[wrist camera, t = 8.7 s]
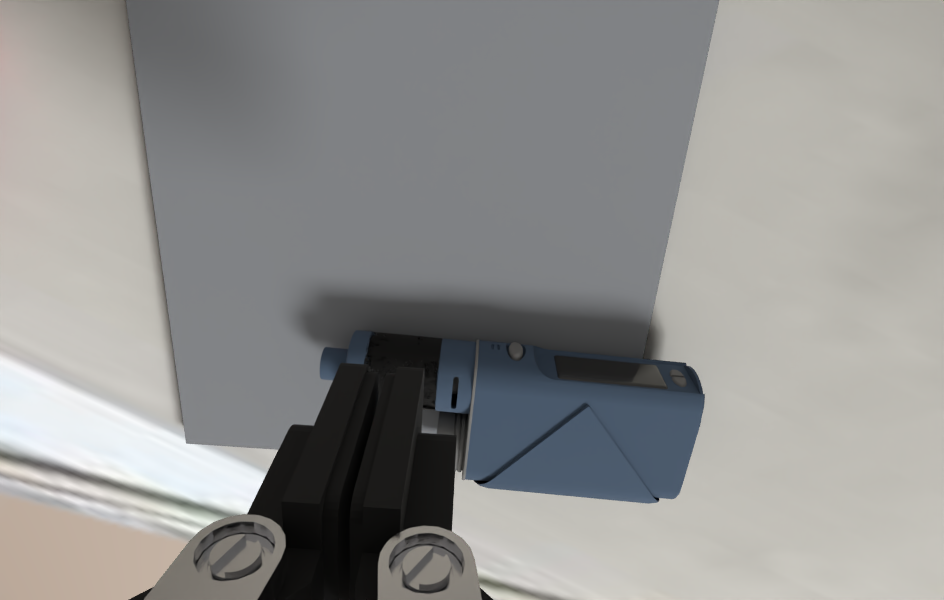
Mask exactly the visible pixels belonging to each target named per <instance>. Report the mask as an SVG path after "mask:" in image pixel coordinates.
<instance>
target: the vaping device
mask: <svg viewBox="0 0 944 600" xmlns="http://www.w3.org/2000/svg"><path fill="white" fill-rule="evenodd" d="M375 333H376V334H377V335H376V334H375ZM341 363H352V364H367V365H369V369H370V372H378V373H379V397H380V394H381V390H382V386H383V383H384V379H385V376H386V373H394V374H396V370H397V367H409V368H424V394H423V410H433V411H435V410H436V411H440V412H439V418H438V427H437V434H446V435H457V440H456V459H455V471H456V470H457V471H458V472H461V470H463V472H462V480H465V479H468V480H474V481H475V482H476V483H477V484H478V485H480V486H483V487H486V488H492V489H503V490H513V491H524V492H534V493H545V494H555V495H566V496H576V497H586V498H597V499H607V500H618V501H628V502H639V503H657V502H658V501H659V498H666V499H674V498H676V497H677V495H678V494H679V493H680V490H681V487H682V484H683V481H684V477H685V474H686V470H687V467H688V464H689V460H690V457H691V454H692V450H693V447H694V444H695V440H696V437H697V434H698V430H699V427H700V423H701V417H702V413H703V408H704V399H705V394H703V391H702V386H701V383H700V380H699V377H698V375H697V373H696V372H695V371H694V369H693V368H691V367H689V366H686V363H680V362H670V361H660V360H650V359H639V358H629V357H619V356H609V355H598V354H588V353H578V352H568V351H557V350H548V349H543V348H540V347H537V346H534V345H524V344H519V343H517V342H513V343H503V342H493V341H483V340H479V339H476V342H474V341H464V340H454V339H442V338H433V337H423V336H413V335H403V334H392V333H391V334H390V333H382V332H379V334H378V332H372V331H362V330H356V331H355V332H354V333H353V335H352V337H351V340H350V344H349V348H348V349H342V348H332V347H325V348H324V350H323V352H322V355H321V360H320V378H321V379H323V380H333V379H334V377H335V375H336V372H337V370H338V368H339V365H340V364H341ZM461 413H463V414H461Z"/></svg>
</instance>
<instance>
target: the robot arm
mask: <svg viewBox="0 0 944 600" xmlns="http://www.w3.org/2000/svg"><path fill="white" fill-rule="evenodd" d="M423 394H424V368H409V367H397V370H396V374H394V373H386V376H385V379H384V383H383V386H382V390H381V394H380V397H379V373H378V372H370V369H369V365H367V364H352V363H341V364H340V365H339V368H338V370H337V372H336V375H335V377H334V379H333V382H332V384H331V386H330V389H329V391H328V393H327V396H326V398H325V400H324V403H323V405H322V407H321V410H320V412H319V415H318V417H317V419H316V422H315V424H314V426H313V425H298V424H293V425H292V426H291V427H290V428H289V430H288V432H287V434H286V436H285V438H284V440H283V442H282V444H281V446H280V448H279V450H278V452H277V454H276V456H275V458H274V460H273V462H272V464H271V466H270V469H269V471H268V473H267V475H266V477H265V479H264V481H263V483H262V485H261V487H260V489H259V491H258V493H257V495H256V497H255V499H254V501H253V503H252V505H251V507H250V510H249V512H248V514H243V515H236V516H230V517H227V518H224V519H221V520H218V521H216V522H213V523H212V524H210V525H209V526H207V527H205V528H204V529H202V530H200V531H199V532H198V533H197V534H196V535H195V536H194V537H193V538H192V539H191V540H190V541H189V543H188V544H187V545H186V546H185V548H184V549H183V550H182V551H181V553H180V554H179V555H178V557H177V558H176V559H175V560H174V562H173V563H172V564H171V565H170V567H169V568H168V569H167V571H166V572H165V573H164V574H163V576H162V577H161V578H160V580H159V581H158V582H157V583H156V585H155V586H154V587H153V588H151V589H149V590H147V591H145V592H143V593H141V594H139V595H137V596H135V597H133V598H131V599H129V600H493V599H492V598H491V597H490V596H489V595H487V594H486V593H485V592H484V591H483V590H482V589H481V588H480V586H479V580H478V575H477V569H476V564H475V559H474V556H473V553H472V551H471V548H470V547H469V546H468V544H467V543H466V542H465V541H464V540H463V539H462V538H461V537H460V536H458V535H456V534H455V533H453V532H452V516H453V497H454V478H455V459H456V440H457V435H446V434H431V433H422V414H423Z"/></svg>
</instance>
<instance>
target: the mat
mask: <svg viewBox="0 0 944 600" xmlns="http://www.w3.org/2000/svg"><path fill="white" fill-rule="evenodd" d="M718 4H719V0H126V6H127V13H128V20H129V28H130V35H131V42H132V50H133V57H134V64H135V72H136V79H137V86H138V94H139V101H140V108H141V116H142V123H143V130H144V138H145V145H146V152H147V160H148V167H149V174H150V182H151V189H152V196H153V204H154V211H155V218H156V226H157V233H158V240H159V248H160V255H161V262H162V270H163V277H164V284H165V292H166V299H167V306H168V314H169V321H170V328H171V336H172V343H173V350H174V358H175V365H176V372H177V380H178V387H179V394H180V402H181V409H182V416H183V424H184V431H185V438H186V443H187V444H202V445H217V446H232V447H247V448H262V449H277V450H279V448H280V446H281V444H282V442H283V440H284V438H285V436H286V434H287V432H288V430H289V428H290V427H291V426H292V425H293V424H298V425H313V426H314V424H315V422H316V419H317V417H318V415H319V412H320V410H321V407H322V405H323V403H324V400H325V398H326V396H327V393H328V391H329V389H330V386H331V384H332V382H333V380H323V379H321V378H320V360H321V355H322V352H323V350H324V348H325V347H332V348H342V349H348V348H349V344H350V340H351V337H352V335H353V333H354V332H355V331H356V330H362V331H372V332H378V334H379V332H382V333H390V334H391V333H392V334H403V335H413V336H423V337H433V338H442V339H454V340H464V341H474V342H476V339H479V340H483V341H493V342H503V343H513V342H517V343H519V344H524V345H534V346H537V347H540V348H543V349H548V350H557V351H568V352H578V353H588V354H598V355H609V356H619V357H629V358H639V359H643V355H644V350H645V345H646V341H647V336H648V331H649V327H650V322H651V317H652V313H653V308H654V303H655V299H656V294H657V289H658V285H659V280H660V275H661V271H662V266H663V261H664V257H665V252H666V247H667V242H668V238H669V233H670V228H671V224H672V219H673V214H674V210H675V205H676V200H677V196H678V191H679V186H680V182H681V177H682V172H683V168H684V163H685V158H686V154H687V149H688V144H689V140H690V135H691V130H692V125H693V121H694V116H695V111H696V107H697V102H698V97H699V93H700V88H701V83H702V79H703V74H704V69H705V65H706V60H707V55H708V51H709V46H710V41H711V37H712V32H713V27H714V22H715V18H716V13H717V8H718ZM375 334H376V333H375ZM376 335H377V334H376ZM439 412H440V411H436V410H435V411H433V410H423V414H422V433H431V434H437V427H438V418H439ZM461 414H463V413H461Z"/></svg>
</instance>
